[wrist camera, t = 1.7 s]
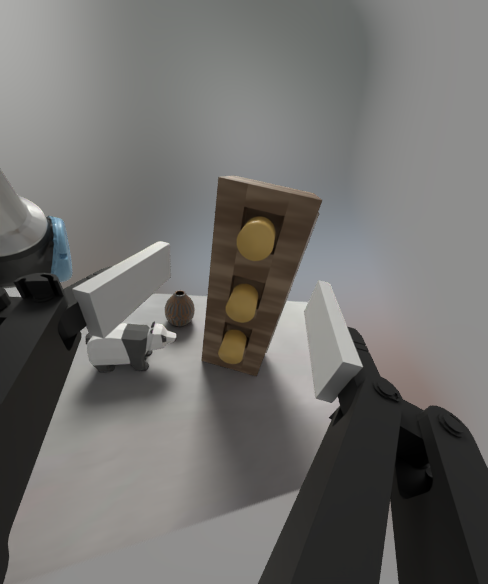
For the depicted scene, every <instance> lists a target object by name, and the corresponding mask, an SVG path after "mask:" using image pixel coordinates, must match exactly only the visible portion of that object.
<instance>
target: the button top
mask: <svg viewBox="0 0 488 584" xmlns="http://www.w3.org/2000/svg"><path fill="white" fill-rule="evenodd" d="M274 240H275V227H274V225H273V223H272V222H271V221H270V220H269V219H267V218H265V217H259V216H258V217H254V218H252V219H250V220H249V221H248V222H247V223H246V224H245V226H244V227H243V228H242V230H241V231H240V232H239V234H238V236H237V248H238V250H239V252H240V253H241V255H242V256H243V257H245V258H246V259H248V260H251V261H260V260H263V259H265V258H266V257H268V256H269V255H270V253H271V252H272V250H273V246H274Z"/></svg>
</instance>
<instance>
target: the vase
mask: <svg viewBox="0 0 488 584" xmlns="http://www.w3.org/2000/svg"><path fill="white" fill-rule="evenodd" d="M194 311H195V308H194V304H193V301H192V300H191V298H190V297H188V296H187V295H186V293H185V292H184V291H182V290H178V291H175V293H174V294H173V296H171V297H170V298H169V299H168V301H167V303H166V305H165V316H166V318H167V320H168V321H169V323H171V324H172V325H175V326H184V325H186V324H188V323H189V322H190V321H191V320H192V318H193V316H194Z"/></svg>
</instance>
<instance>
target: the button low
mask: <svg viewBox="0 0 488 584" xmlns="http://www.w3.org/2000/svg"><path fill="white" fill-rule="evenodd" d="M246 340H247V338H246V336H245V334H244V333H242V332H241V331H239V330H229V331H227V332H226V333H225V336H224V338H223V341H222V344H221V346H220V349H219V352H218V355H219V357H220V359H221V360H223V361H224V362H226V363H229V364H237V363H240V362H241V361H242V358H243V353H244V349H245V345H246Z"/></svg>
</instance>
